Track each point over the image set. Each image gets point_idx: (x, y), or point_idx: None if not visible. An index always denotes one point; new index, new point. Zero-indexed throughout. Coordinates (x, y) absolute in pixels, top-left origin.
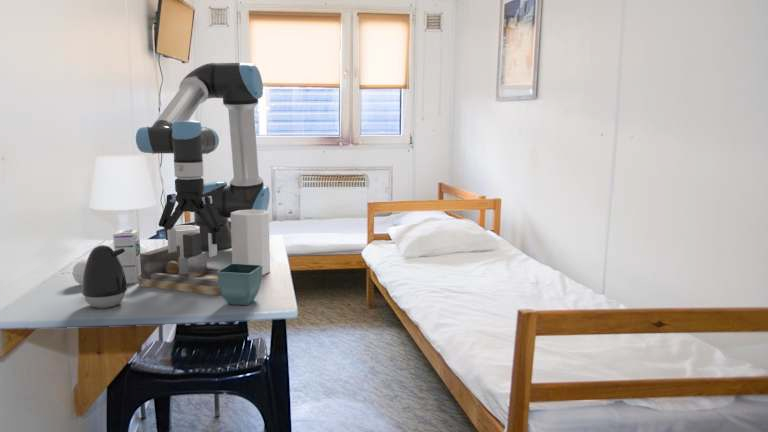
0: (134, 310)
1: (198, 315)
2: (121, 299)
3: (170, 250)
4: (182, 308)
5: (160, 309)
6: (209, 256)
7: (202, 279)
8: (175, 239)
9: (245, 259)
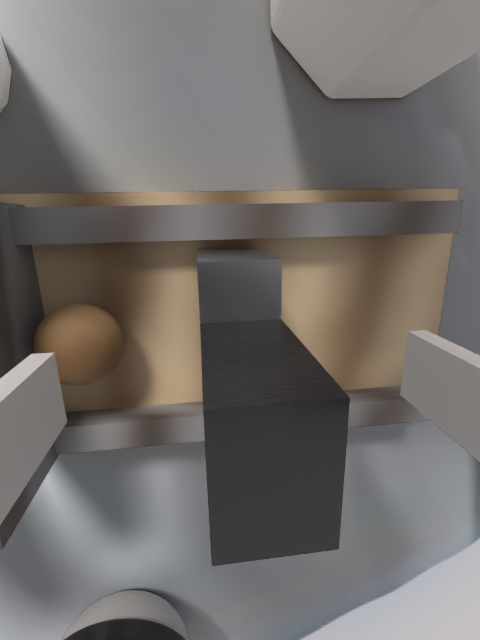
0: (251, 605)
1: (445, 556)
2: (183, 623)
3: (59, 430)
4: (370, 538)
5: (316, 569)
6: (403, 395)
7: (359, 423)
8: (4, 412)
9: (456, 55)
